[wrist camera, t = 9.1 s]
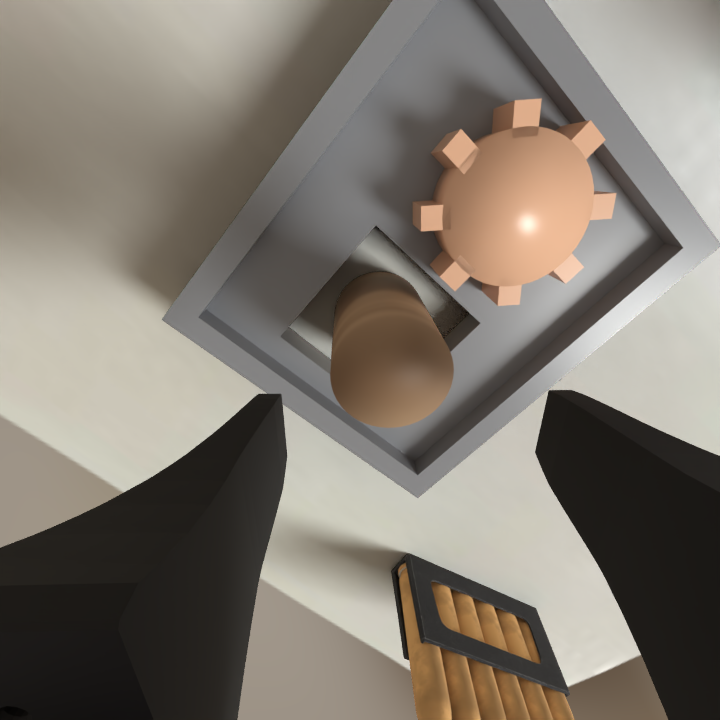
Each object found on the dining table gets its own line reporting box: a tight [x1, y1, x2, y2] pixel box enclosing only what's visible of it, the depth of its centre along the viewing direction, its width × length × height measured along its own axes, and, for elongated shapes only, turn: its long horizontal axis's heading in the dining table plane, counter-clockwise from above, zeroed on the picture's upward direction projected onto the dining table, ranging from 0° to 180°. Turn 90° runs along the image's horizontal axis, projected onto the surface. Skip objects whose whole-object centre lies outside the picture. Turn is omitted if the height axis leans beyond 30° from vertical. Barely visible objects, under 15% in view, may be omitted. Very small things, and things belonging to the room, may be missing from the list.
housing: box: [162, 0, 720, 498], centre depth 16 cm, size 16×14×4 cm
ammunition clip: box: [391, 554, 574, 720], centre depth 21 cm, size 11×2×12 cm, turn 58°
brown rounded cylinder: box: [330, 272, 454, 428], centre depth 16 cm, size 4×4×6 cm
